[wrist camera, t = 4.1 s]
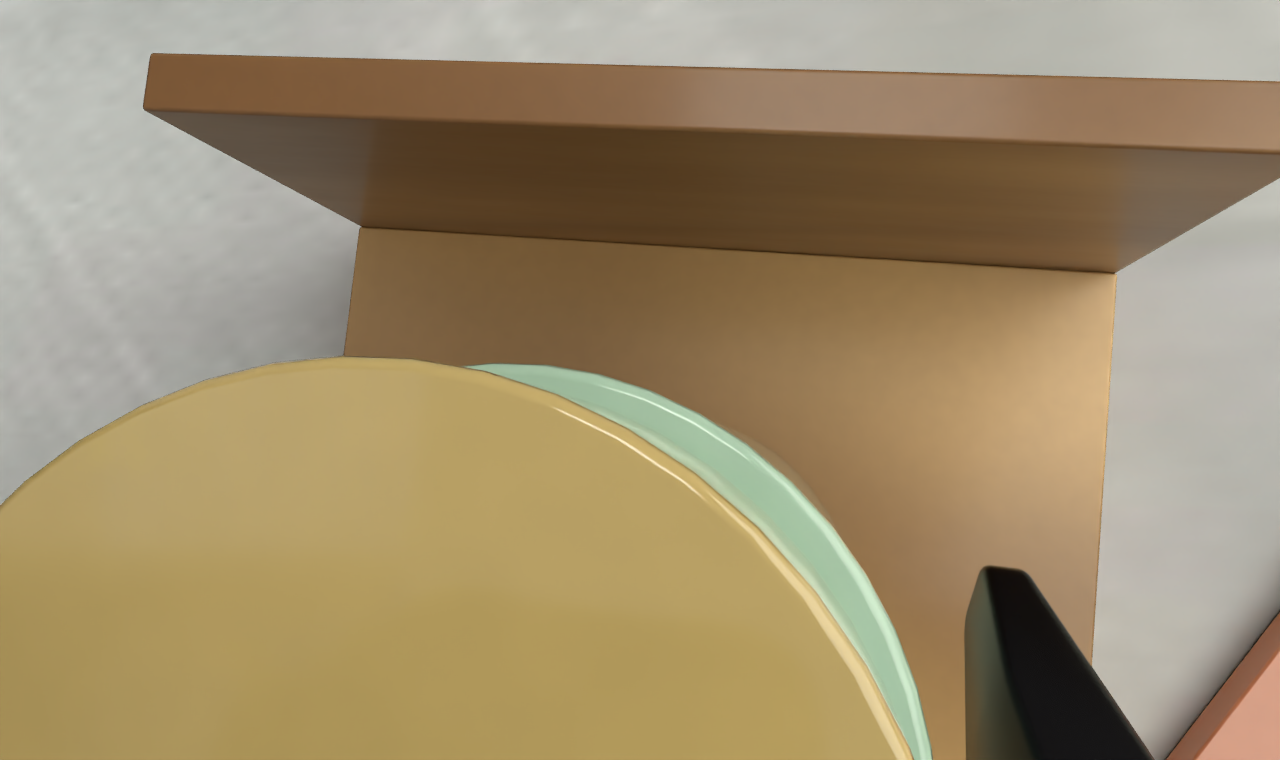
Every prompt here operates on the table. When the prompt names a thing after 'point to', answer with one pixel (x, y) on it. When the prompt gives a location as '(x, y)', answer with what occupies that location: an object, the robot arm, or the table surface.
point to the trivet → (1241, 710)
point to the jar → (436, 581)
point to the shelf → (779, 269)
